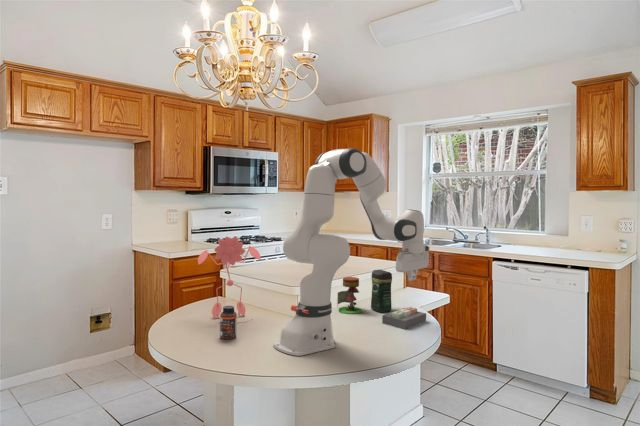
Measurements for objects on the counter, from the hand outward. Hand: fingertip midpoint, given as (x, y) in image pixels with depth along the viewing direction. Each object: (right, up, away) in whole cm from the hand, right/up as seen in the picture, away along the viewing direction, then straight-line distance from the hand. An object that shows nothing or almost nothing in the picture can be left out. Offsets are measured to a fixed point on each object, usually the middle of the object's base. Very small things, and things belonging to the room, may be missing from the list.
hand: (411, 280), depth 182 cm
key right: (0, -15, +1) cm, 15 cm away
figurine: (-77, -16, -2) cm, 79 cm away
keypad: (-4, -17, -3) cm, 18 cm away
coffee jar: (-11, -17, +16) cm, 25 cm away
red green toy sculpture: (-25, -16, +14) cm, 33 cm away
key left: (-7, -15, -6) cm, 18 cm away
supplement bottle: (-73, -17, -24) cm, 79 cm away
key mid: (-4, -15, -3) cm, 15 cm away
